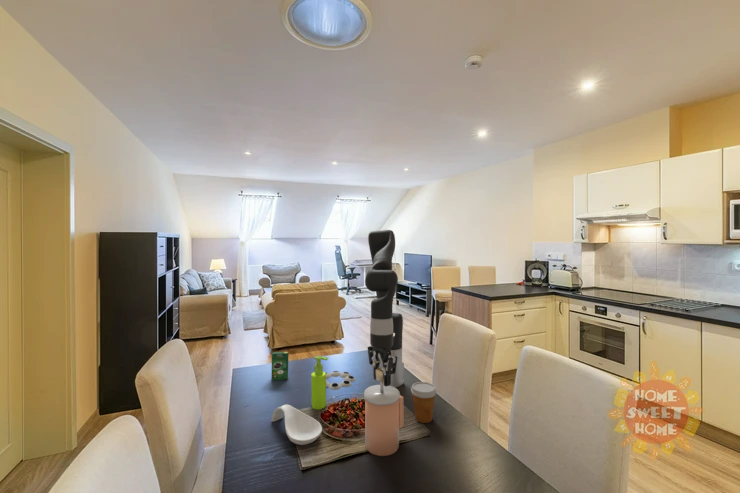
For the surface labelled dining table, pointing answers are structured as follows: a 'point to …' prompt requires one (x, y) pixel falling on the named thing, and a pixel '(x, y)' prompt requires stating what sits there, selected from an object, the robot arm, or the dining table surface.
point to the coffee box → (279, 366)
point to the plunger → (380, 378)
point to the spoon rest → (298, 425)
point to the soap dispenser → (318, 385)
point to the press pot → (383, 419)
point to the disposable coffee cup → (423, 401)
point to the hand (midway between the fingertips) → (381, 382)
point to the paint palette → (342, 375)
